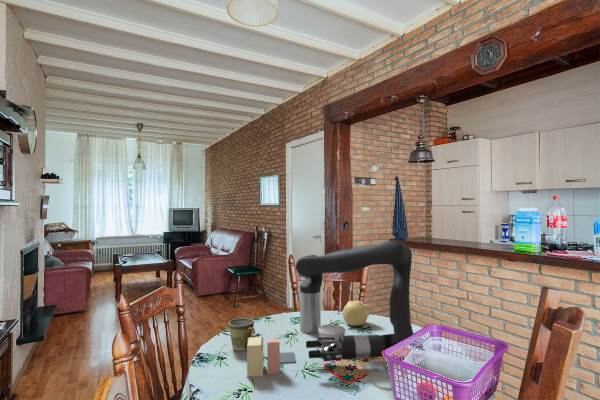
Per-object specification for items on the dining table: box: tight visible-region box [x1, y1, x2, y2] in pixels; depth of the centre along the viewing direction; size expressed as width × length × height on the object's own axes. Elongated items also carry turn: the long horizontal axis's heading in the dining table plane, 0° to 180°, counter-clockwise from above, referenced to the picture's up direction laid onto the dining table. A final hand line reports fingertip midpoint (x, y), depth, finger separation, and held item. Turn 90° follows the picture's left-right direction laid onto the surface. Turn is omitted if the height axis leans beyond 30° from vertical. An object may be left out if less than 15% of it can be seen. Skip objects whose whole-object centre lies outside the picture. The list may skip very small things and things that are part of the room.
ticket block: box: [246, 336, 267, 378], centre depth 111 cm, size 6×7×10 cm
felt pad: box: [280, 351, 296, 364], centre depth 121 cm, size 8×8×1 cm
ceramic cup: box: [228, 317, 256, 351], centre depth 131 cm, size 13×10×10 cm
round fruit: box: [342, 300, 370, 327], centre depth 159 cm, size 12×12×11 cm
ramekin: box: [317, 324, 346, 341], centre depth 137 cm, size 11×11×5 cm
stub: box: [266, 338, 281, 374], centre depth 112 cm, size 4×3×10 cm
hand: (307, 349), depth 113 cm, fingers open, 8 cm apart
